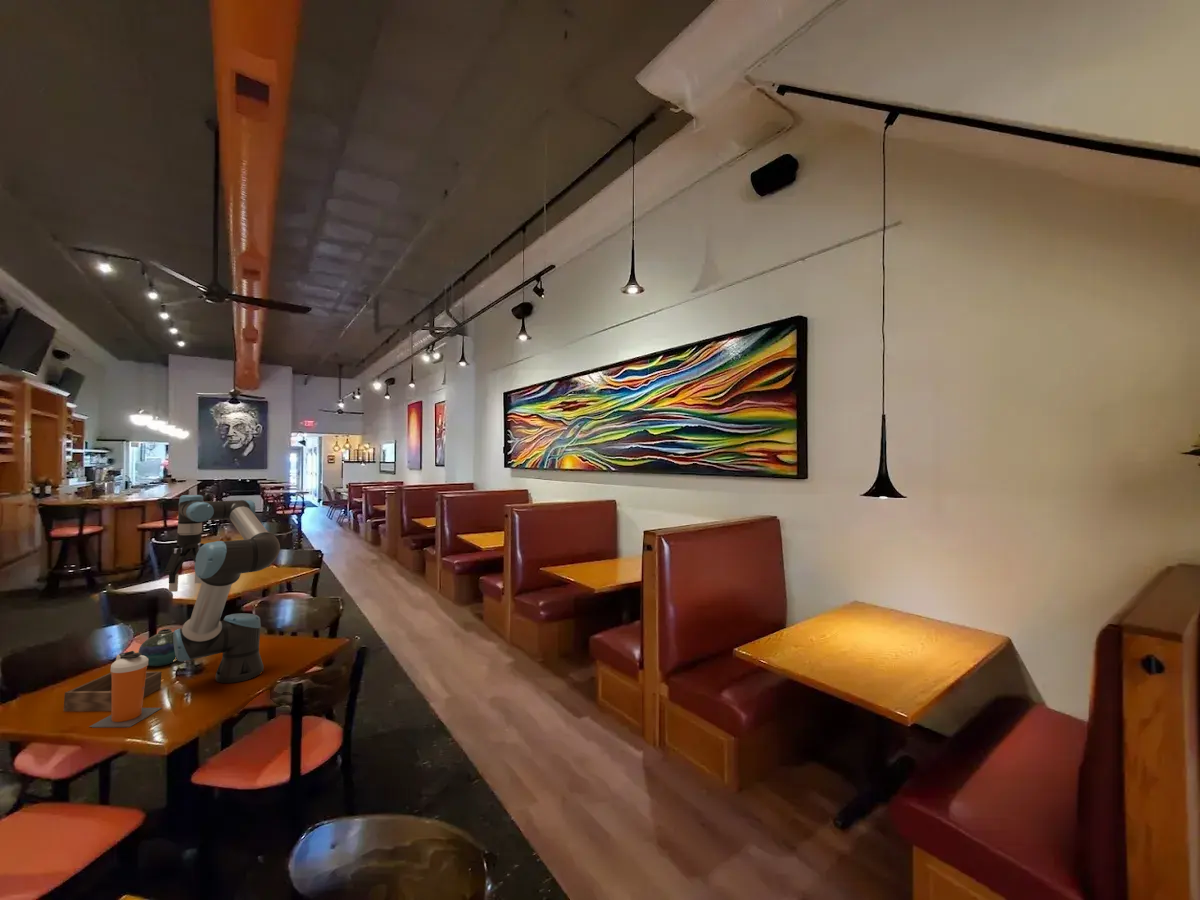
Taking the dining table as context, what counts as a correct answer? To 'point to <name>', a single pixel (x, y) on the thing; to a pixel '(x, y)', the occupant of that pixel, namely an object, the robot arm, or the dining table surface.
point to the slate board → (109, 723)
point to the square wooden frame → (102, 693)
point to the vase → (159, 648)
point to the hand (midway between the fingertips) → (186, 587)
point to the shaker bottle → (127, 686)
